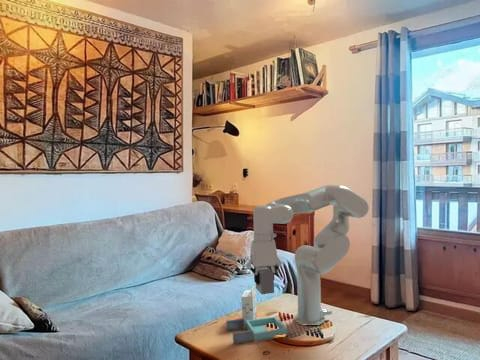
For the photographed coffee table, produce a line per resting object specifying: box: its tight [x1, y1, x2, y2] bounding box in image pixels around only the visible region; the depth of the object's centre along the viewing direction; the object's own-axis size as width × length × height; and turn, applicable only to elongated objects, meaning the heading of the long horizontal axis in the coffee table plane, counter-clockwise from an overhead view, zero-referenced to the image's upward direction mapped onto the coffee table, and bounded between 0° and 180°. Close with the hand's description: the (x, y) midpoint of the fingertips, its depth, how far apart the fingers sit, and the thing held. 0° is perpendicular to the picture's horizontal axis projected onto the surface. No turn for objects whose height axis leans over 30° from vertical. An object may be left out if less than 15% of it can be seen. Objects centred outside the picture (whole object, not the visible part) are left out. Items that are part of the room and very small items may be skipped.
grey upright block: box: [255, 267, 275, 295], centre depth 153 cm, size 5×8×8 cm, turn 14°
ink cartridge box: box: [241, 283, 257, 325], centre depth 166 cm, size 9×5×15 cm, turn 168°
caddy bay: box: [225, 318, 253, 345], centre depth 152 cm, size 7×12×4 cm, turn 14°
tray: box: [244, 316, 288, 343], centre depth 154 cm, size 13×13×3 cm
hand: (264, 282), depth 153 cm, fingers closed on grey upright block, 5 cm apart
